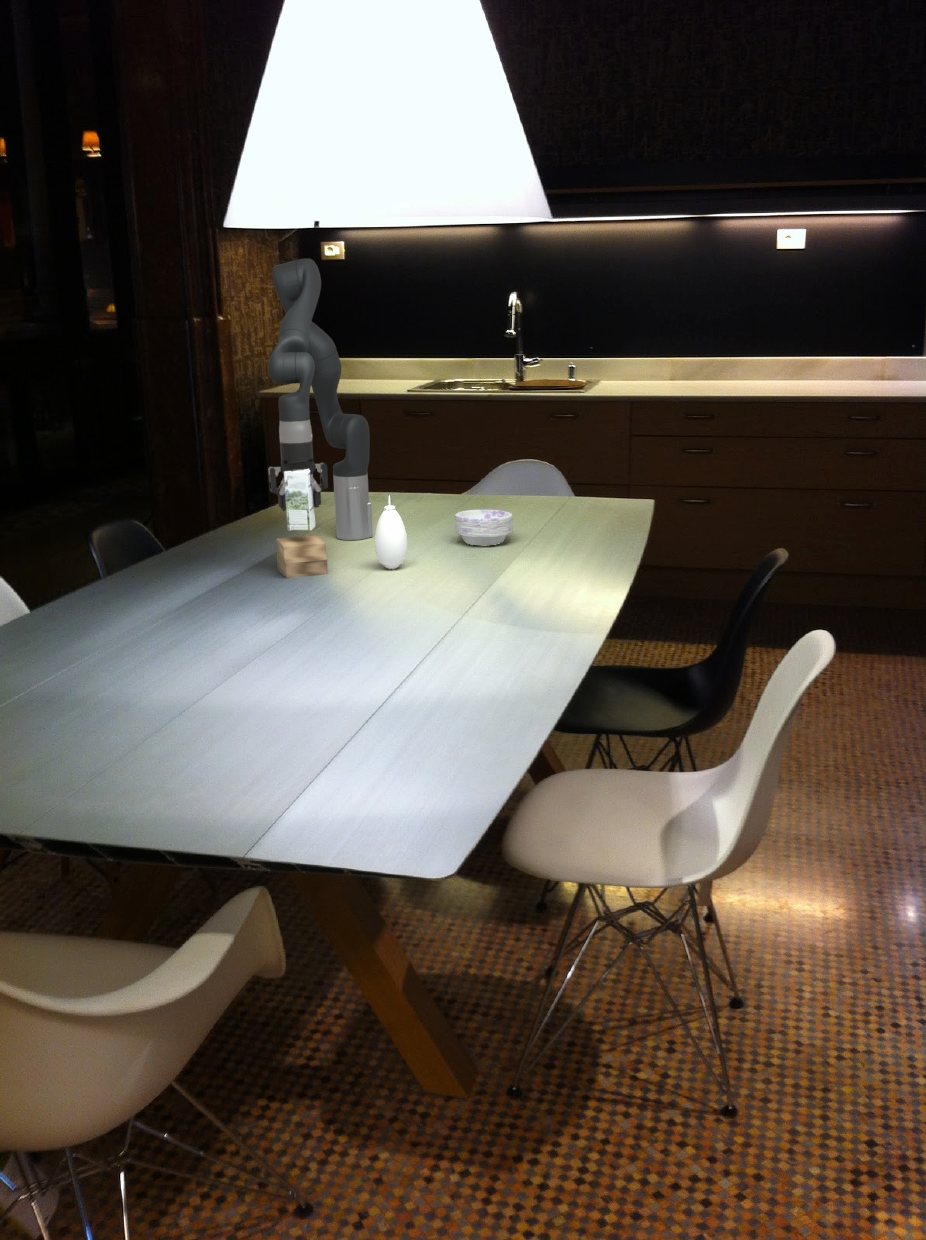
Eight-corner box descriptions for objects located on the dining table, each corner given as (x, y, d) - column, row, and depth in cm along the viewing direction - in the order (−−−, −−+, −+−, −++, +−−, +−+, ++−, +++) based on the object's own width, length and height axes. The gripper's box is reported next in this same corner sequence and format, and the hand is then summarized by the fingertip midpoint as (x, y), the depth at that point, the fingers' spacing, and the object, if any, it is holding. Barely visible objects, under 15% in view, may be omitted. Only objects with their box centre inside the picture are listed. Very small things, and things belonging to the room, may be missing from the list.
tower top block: (318, 551, 285) (317, 535, 284) (326, 559, 276) (325, 543, 275) (277, 554, 282) (276, 538, 281) (284, 563, 273) (283, 547, 272)
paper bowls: (514, 536, 313) (514, 507, 311) (511, 549, 299) (510, 519, 296) (458, 536, 315) (457, 507, 312) (452, 549, 300) (451, 519, 298)
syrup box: (316, 526, 280) (312, 466, 276) (310, 531, 275) (307, 470, 271) (292, 526, 281) (289, 466, 277) (286, 531, 275) (283, 470, 271)
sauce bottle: (403, 572, 277) (400, 498, 272) (372, 572, 279) (368, 497, 274) (411, 565, 284) (409, 492, 279) (380, 564, 286) (377, 492, 281)
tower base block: (317, 566, 287) (316, 550, 286) (327, 575, 278) (327, 559, 277) (277, 570, 283) (276, 555, 282) (286, 580, 274) (285, 563, 273)
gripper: (321, 435, 278) (325, 503, 282) (262, 439, 273) (267, 508, 277) (329, 439, 271) (333, 508, 276) (269, 443, 266) (274, 514, 271)
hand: (300, 508), depth 276 cm, fingers closed on syrup box, 7 cm apart
